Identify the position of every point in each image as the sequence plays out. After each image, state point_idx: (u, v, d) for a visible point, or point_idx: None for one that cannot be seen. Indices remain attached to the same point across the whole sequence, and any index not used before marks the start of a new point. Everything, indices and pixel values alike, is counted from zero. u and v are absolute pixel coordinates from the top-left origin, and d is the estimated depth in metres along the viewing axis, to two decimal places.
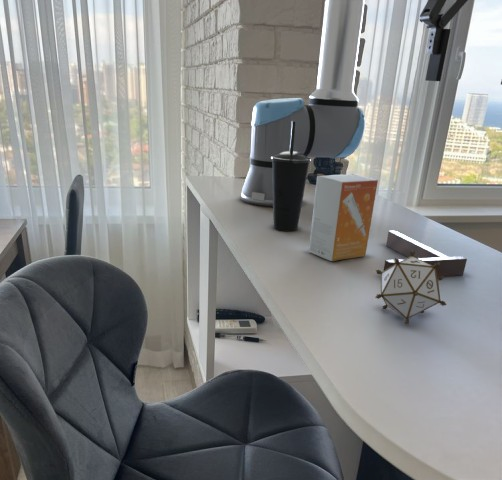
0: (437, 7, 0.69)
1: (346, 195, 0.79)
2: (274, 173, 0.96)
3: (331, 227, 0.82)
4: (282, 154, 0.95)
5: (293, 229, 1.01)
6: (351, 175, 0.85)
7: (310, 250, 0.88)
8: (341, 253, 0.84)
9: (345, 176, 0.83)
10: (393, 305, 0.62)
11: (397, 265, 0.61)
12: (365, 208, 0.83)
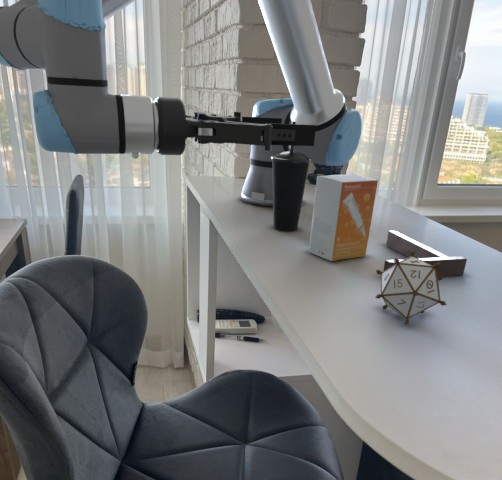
0: None
1: (346, 195, 0.79)
2: (274, 173, 0.96)
3: (331, 227, 0.82)
4: (282, 154, 0.95)
5: (293, 229, 1.01)
6: (351, 175, 0.85)
7: (310, 250, 0.88)
8: (341, 253, 0.84)
9: (345, 176, 0.83)
10: (393, 305, 0.62)
11: (397, 265, 0.61)
12: (365, 208, 0.83)
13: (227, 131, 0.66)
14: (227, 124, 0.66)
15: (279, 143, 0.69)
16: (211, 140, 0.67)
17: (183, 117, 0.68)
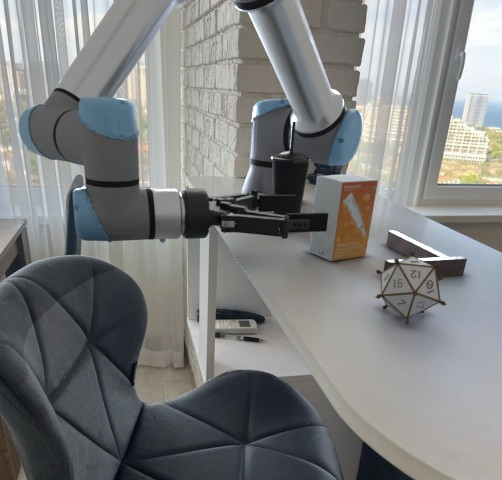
0: None
1: (346, 195, 0.79)
2: (274, 173, 0.96)
3: (331, 227, 0.82)
4: (282, 154, 0.95)
5: None
6: (351, 175, 0.85)
7: (310, 250, 0.88)
8: (341, 253, 0.84)
9: (345, 176, 0.83)
10: (393, 305, 0.62)
11: (397, 265, 0.61)
12: (365, 208, 0.83)
13: (248, 223, 0.73)
14: (248, 218, 0.72)
15: (295, 230, 0.76)
16: (233, 231, 0.73)
17: (207, 209, 0.74)
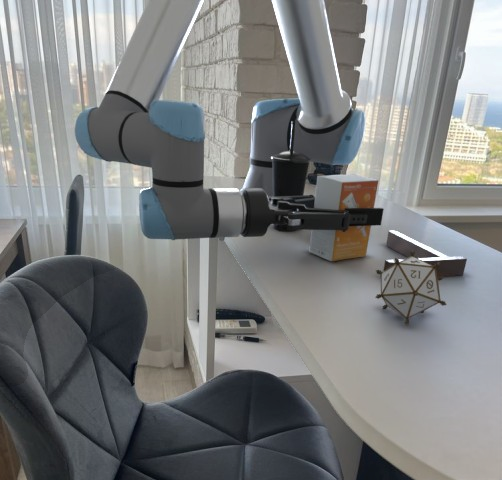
0: None
1: (346, 195, 0.79)
2: (274, 173, 0.96)
3: None
4: (282, 154, 0.95)
5: None
6: (352, 175, 0.84)
7: (310, 250, 0.88)
8: (341, 253, 0.84)
9: (345, 176, 0.83)
10: (393, 305, 0.62)
11: (397, 265, 0.61)
12: None
13: (313, 220, 0.77)
14: (314, 215, 0.76)
15: (352, 224, 0.81)
16: (299, 228, 0.77)
17: (268, 208, 0.77)
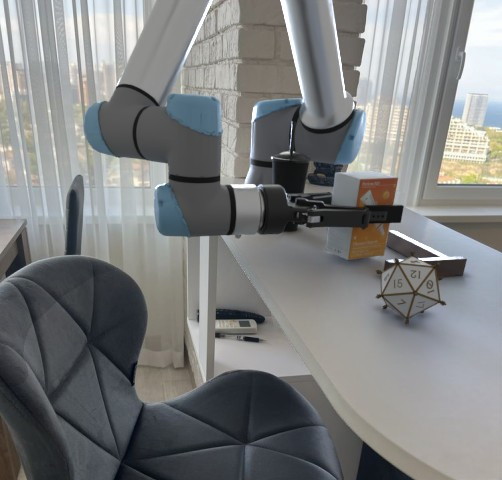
0: None
1: (364, 192, 0.77)
2: (274, 173, 0.96)
3: None
4: (282, 154, 0.95)
5: (293, 229, 1.01)
6: (371, 172, 0.82)
7: (327, 248, 0.86)
8: (358, 251, 0.82)
9: (364, 173, 0.81)
10: (393, 305, 0.62)
11: (397, 265, 0.61)
12: None
13: (333, 217, 0.75)
14: (334, 211, 0.74)
15: (372, 222, 0.79)
16: (319, 226, 0.75)
17: (286, 204, 0.75)
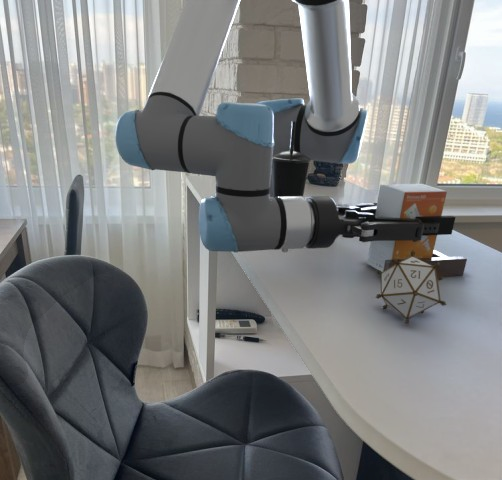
0: None
1: (408, 206, 0.74)
2: (274, 173, 0.96)
3: None
4: (282, 154, 0.95)
5: None
6: (419, 185, 0.79)
7: (368, 262, 0.83)
8: None
9: (411, 186, 0.78)
10: (393, 305, 0.62)
11: (397, 265, 0.61)
12: None
13: (387, 230, 0.72)
14: (388, 224, 0.71)
15: (423, 234, 0.76)
16: (372, 239, 0.72)
17: (337, 218, 0.72)
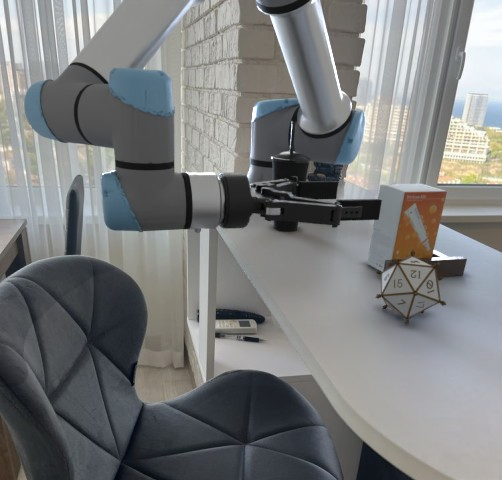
0: None
1: (408, 206, 0.74)
2: (274, 173, 0.96)
3: (391, 239, 0.77)
4: (282, 154, 0.95)
5: (293, 229, 1.01)
6: (419, 185, 0.79)
7: (368, 262, 0.83)
8: None
9: (411, 186, 0.78)
10: (393, 305, 0.62)
11: (397, 265, 0.61)
12: (430, 221, 0.77)
13: (295, 210, 0.65)
14: (296, 204, 0.65)
15: (345, 219, 0.69)
16: (279, 219, 0.66)
17: (249, 195, 0.67)
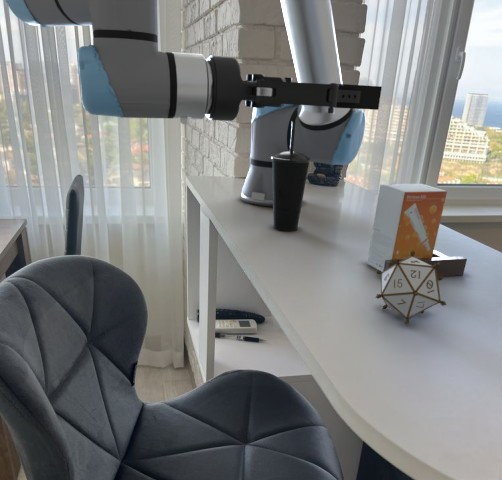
0: None
1: (408, 206, 0.74)
2: (274, 173, 0.96)
3: (391, 239, 0.77)
4: (282, 154, 0.95)
5: (293, 229, 1.01)
6: (419, 185, 0.79)
7: (368, 262, 0.83)
8: None
9: (411, 186, 0.78)
10: (393, 305, 0.62)
11: (397, 265, 0.61)
12: (430, 221, 0.77)
13: (288, 90, 0.60)
14: (289, 83, 0.60)
15: (342, 106, 0.64)
16: (270, 101, 0.61)
17: (239, 77, 0.62)
